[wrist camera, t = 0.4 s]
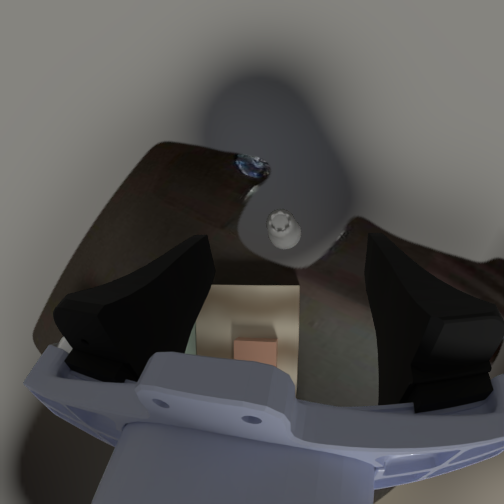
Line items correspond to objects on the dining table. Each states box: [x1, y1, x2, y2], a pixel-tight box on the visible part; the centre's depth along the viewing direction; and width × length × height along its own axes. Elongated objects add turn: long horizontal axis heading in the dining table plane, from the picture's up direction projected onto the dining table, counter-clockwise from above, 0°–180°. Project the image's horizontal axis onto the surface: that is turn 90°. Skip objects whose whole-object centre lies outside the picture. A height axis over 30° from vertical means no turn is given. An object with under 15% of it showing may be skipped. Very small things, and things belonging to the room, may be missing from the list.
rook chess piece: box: [266, 209, 301, 249], centre depth 35 cm, size 4×4×8 cm
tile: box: [234, 337, 278, 367], centre depth 33 cm, size 5×5×2 cm
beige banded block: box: [196, 284, 300, 397], centre depth 36 cm, size 18×13×4 cm
